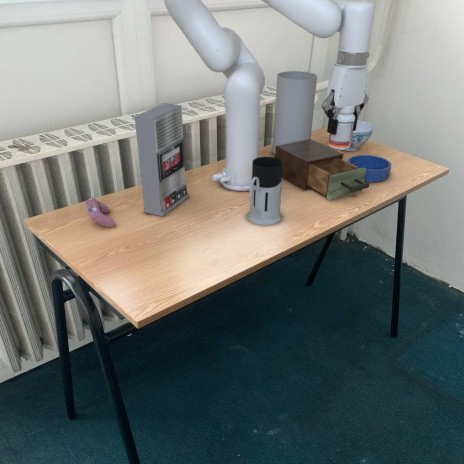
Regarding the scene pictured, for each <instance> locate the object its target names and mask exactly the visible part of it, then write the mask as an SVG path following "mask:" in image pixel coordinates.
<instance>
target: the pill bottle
mask: <svg viewBox="0 0 464 464" xmlns="http://www.w3.org/2000/svg"><path fill="white" fill-rule="evenodd" d="M354 110H355V105H353V106H347V107H344V108H341V109H340V112H339V114H338V116H337V119H338V126H337V133H336V135H333V134H330V133H329V137H328V143H327V144H328V145H327V146H328V147H329V148H332V149H334V150H336V151H345V149H348V148H350V146H351V140H352V134H353V128H354V122H355V116H354V114H353V112H354Z"/></svg>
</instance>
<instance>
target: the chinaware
mask: <svg viewBox="0 0 464 464" xmlns="http://www.w3.org/2000/svg"><path fill="white" fill-rule="evenodd" d="M374 130H375V126H374V125H373V124H372V123H370V122H368V121H365V120H361V119H360V120H359V119H358V120H357V126H356V130H355V131H353V134H352V140H351V146H350V148H348V149H345V150H344V151H347V152H355V151H358V150H359V148H360V147H362V146H363V145H364V144H366V143H367V142H368V141H369V139H370V138H371V137H372V134H373V132H374Z"/></svg>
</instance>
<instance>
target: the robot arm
mask: <svg viewBox="0 0 464 464" xmlns="http://www.w3.org/2000/svg"><path fill="white" fill-rule="evenodd" d="M261 1H262V2H264V4H266V5H268V6H269V7H270V8H271V9H273V11H276V12H278V13H279V14H280V15H282V16H283V17H285V18H286V19H287V20H289V21H291V22H292V23H293V24H294V25H296V26H298V27H299V28H301V29H303V30H304V31H306V32H308V33H309V34H311V35H313V36H314V37H316V38H319V39H328V38H330V37H332V36H334V35H335V34H336V33H339V38H338V45H337V53H336V60H335V64H333V65H332V68H331V71H330V75H329V79H328V83H327V89H326V95H325V99H324V101H323V102H322V103H321V105H320V107H321V109H322V110H323V111H324V113H325V115H326V118H328V121H327V127H326V132H327V134H329V135H330V134H333V135H336V133H337V126H338V119H337V116H338V114H339V112H340V109H341V108H344V107H347V106H353V105H355V110H354V112H353V114H354V116H355V122H354V128H353V131H355V130H356V126H357V120H359V116H360V115H361V113H362V112H361V111H363V109H364V108H365V105H366V104H367V103H368V102H369V100H370V98H369V96H368V94H367V93H366V91H367V82H368V64H367V63H368V59H369V57H370V51H369V50H370V44H371V39H372V32H373V27H374V21H375V20H374V19H375V15H376V5H375V4H374V2H373V1H370V0H261ZM163 2H164V5H165V8H166V10H167V12H168V14H169V16H170V17H171V18H172V20H173V21H174V23H175V25H176V26H177V27H178V29H179V30H180V31H181V32H182V34H183V35H184V37H185V39H186V40H187V41H188V43H189V44H190V46H191V47H192V48H193V50H194V51H195V52H196V54H197V55H198V56H199V58H200V59H201V61H202V62H203V64H204V65H205V66H206V67H207V68H208V69H209V70H210V71H211V72H214V73H222V74H223V75H224V77H225V78H226V79H227V80H226V81H225V85H224V90H223V91H224V94H223V95H224V97H223V99H224V110H225V167H223V168H222V171H221V172H220V173H215V174H212V175H211V176H210V179H211V181H212V182H217V181H219V183H220V184H221V186H222V187H224V188H226V189H228V190H231V191H237V192H247V191H249V190H250V183H251V179H252V163H253V160H254V159H256V158H259V150H260V149H259V147H260V125H261V124H260V123H261V122H260V121H261V94H262V92H263V90H264V88H265V84H266V78H265V77H266V76H265V73H264V70H263V69H262V67H261V65H260V64H259V62H258V61H257V60H256V58H255V56H254V55H253V54H252V52H251V50H250V49H249V48H248V46H247V45H246V43H245V42H244V40H243V39H242V38H241V37H240V35H238V34H237V32H236V31H234V30H233V29H232V28H230V27H226V26H225V27H223V26H222V27H221V25H220V24H219V22H218V21H217V20H216V18H215V17H214V15H213V13H212V12H211V11H210V9H209V8H208V7H207V6H206V5H205V3H204V2H203V1H202V0H163Z"/></svg>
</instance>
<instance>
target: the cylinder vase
mask: <svg viewBox="0 0 464 464" xmlns="http://www.w3.org/2000/svg"><path fill="white" fill-rule="evenodd" d="M317 83H318V75H317V74H316V73H314V72H309V71H301V70H287V71H281V72H278V73H277V74H276V89H275V91H276V92H275V105H274V106H275V107H274V122H273V136H272V137H273V139H272V153H273V155H274V156H275V149H276V146H278V145H283V144H288V143H293V142H298V141H303V140H308V139H312V131H313V130H312V128H313V120H314V111H315V102H316V92H317Z"/></svg>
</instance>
